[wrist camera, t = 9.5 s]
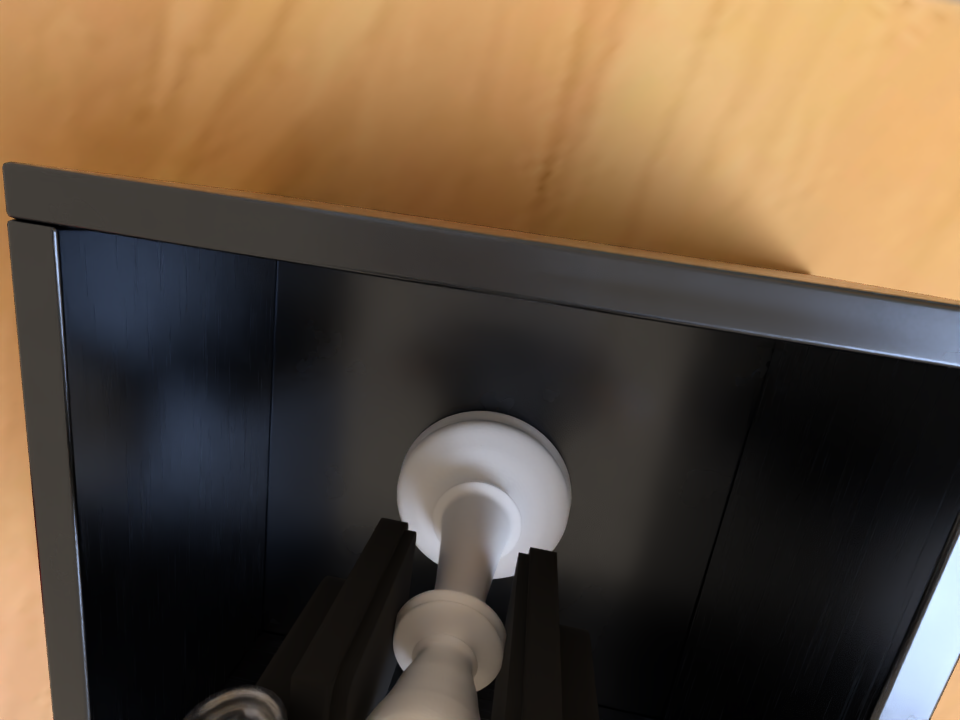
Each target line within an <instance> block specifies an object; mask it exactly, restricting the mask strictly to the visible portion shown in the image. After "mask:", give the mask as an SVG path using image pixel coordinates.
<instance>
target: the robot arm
mask: <svg viewBox="0 0 960 720" xmlns="http://www.w3.org/2000/svg"><path fill="white" fill-rule="evenodd" d="M408 528H409V527H408V522H403V521H398V520H393V519H387V518H381V520H380V521H379V523H378V525H377V526H376V528H375V530H374V532H373V533H372V535H371V537H370V539H369V540H368V542H367V544H366V546H365V547H364V549H363V551H362V553H361V555H360V556H359V558H358V560H357V562H356V563H355V565H354V567H353V569H352V570H351V572H350V574H349V576H348V577H347V579H342V578H338V577H333V576H326V577H324V579H323V580H322V581H321V583H320V584H319V586H318V587H317V589H316V590H315V592H314V594H313V595H312V597H311V598H310V600H309V601H308V603H307V605H306V606H305V608H304V609H303V611H302V613H301V614H300V616H299V617H298V619H297V620H296V622H295V624H294V625H293V627H292V628H291V630H290V631H289V633H288V635H287V636H286V638H285V639H284V641H283V642H282V644H281V646H280V647H279V649H278V650H277V652H276V653H275V655H274V657H273V658H272V660H271V661H270V663H269V664H268V666H267V668H266V669H265V671H264V672H263V674H262V676H261V677H260V679H259V680H258V682H257V683H256V685H240V686H234V687H229V688H226V689H224V690H221V691H219V692H216V693H214V694H212V695H210V696H209V697H207V698H206V699H204V700H203V701H202V702H200V703H199V704H197V705H196V706H195V707H194V708H193V709H192V710H191V711H190V713H189V714H188V715H187V716H186V717H185V718H184V719H183V720H366V719H367V717H368V716H369V715H370V713H371V712H372V711H373V709H374V708H375V707H376V706H377V705H378V704H379V703H380V702H381V701H382V700H383V699H384V698H385V697H386V694H387V691H388V688H389V685H390V682H391V679H392V676H393V673H394V671H395V668H396V665H397V659H396V657H395V654H394V650H393V634H394V630H395V623H396V617H397V614H398V612H399V610H400V609H401V608H402V606H403V605H404V604H405V603H406V602H407V601H408V599H409V592H410V584H411V576H412V568H413V560H414V552H415V544H416V535H417V534H416V532H415V531H410V530H408ZM504 628H505V630H506V634H507V635H506V642H505V647H504V655H503V661H502V666H501V669H500V671H499V673H498V675H497V676H496V680H495V688H494V697H493V706H492V715H491V720H599V713H598V704H597V694H596V685H595V676H594V666H593V657H592V648H591V639H590V634H589V632H588V630H584V629H580V628H575V627H570V626H565V625H561V624H559V596H558V565H557V553H556V552H553V551H548V550H543V549H538V548H533V547H530V549H529V553H528V554H525V553H520V552H519V553H518V558H517V563H516V568H515V574H514V579H513V584H512V590H511V595H510V600H509V606H508V611H507V616H506V622H505V627H504Z"/></svg>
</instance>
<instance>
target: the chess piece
mask: <svg viewBox="0 0 960 720" xmlns="http://www.w3.org/2000/svg"><path fill="white" fill-rule="evenodd" d="M571 499H572V491H571V482H570V477H569V474H568V470H567V468H566V465H565V463H564V461H563V459H562V457H561V455H560V454H559V452H558V451H557V449H556V448H555V447H554V445H553V444H552V443H551V442H550V441H549V440H548V439H547V438H546V437H545V436H544V435H543V434H542V433H541V432H540V431H538V430H537V429H536V428H534V427H533V426H531V425H529V424H528V423H526V422H524V421H522V420H520V419H518V418H515V417H513V416H510V415H506V414H503V413H498V412H491V411H469V412H462V413H458V414H454V415H451V416H448V417H446V418H444V419H441V420H439V421H438V422H436V423H434V424H433V425H431V426H430V427H428V428H427V429H426V430H425V431H424V432H422V433H421V434H420V435H419V436H418V437H417V439H416V440H415V441H414V442H413V444H412V445H411V447H410V448H409V450H408V452H407V454H406V456H405V458H404V461H403V464H402V467H401V472H400V475H399V479H398V484H397V505H398V511H399V515H400V518H401V521H403V522H408V527H409V528H408V530H410V531H415V532H416V534H417V535H416V544H415V545H416V546H417V547H418V548H419V549H420V551H421V552H422V553H424V554H425V555H426V556H427V557H428V558H429V559H431V560H432V561H433V562H435V563H436V564H438V568H437V576H436V583H435V589H434V590H430V591H426V592H423V593H420V594H418V595H416V596H414V597H413V598H411V599H410V600H409V601H407V602H406V603H405V604H404V605H403V606H402V608H401V609H400V610H399V612H398V614H397V617H396V623H395V630H394V634H393V650H394V654H395V657H396V659H397V662H398V663H399V665H400V667H401V668H402V670H403V671H404V672H403V673H402V674H401V676H400V677H399V679H398V680H397V682H396V684H395V685H394V687H393V688H392V690H391V691H390V692H389V693H388V694H387V696H386V697H385V698H384V699H383V700H382V701H381V702H380V703H379V704H378V705H377V706H376V707H375V708H374V709H373V711H372V712H371V713H370V715H369V716H368V717H367V719H366V720H481V719H480V714H479V708H478V697H477V691H479V690H481V689H483V688H484V687H486V686H487V685H489V684H490V683H491V682H492V681H493V680H494V679H495V678H496V676H497V675H498V673H499V671H500V669H501V666H502V661H503V655H504V647H505V642H506V635H507V634H506V630H505V628H504V625H503V623H502V621H501V620H500V618H499V617H498V615H497V614H496V613H495V612H494V611H493V609H492V608H490V607H489V606H488V605H487V604H486V603H485V602H486V598H487V595H488V592H489V589H490V586H491V583H492V580H493V579H498V578H505V577H510V576H514V574H515V568H516V563H517V558H518V553H519V552H520V553H525V554H528V553H529V549H530V547H533V548H538V549H543V550H548V551H553V550H554V549H555V547H556V546H557V544H558V543H559V541H560V539H561V538H562V536H563V533H564V531H565V529H566V525H567V522H568V517H569V512H570V507H571Z"/></svg>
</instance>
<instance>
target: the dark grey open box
mask: <svg viewBox="0 0 960 720" xmlns="http://www.w3.org/2000/svg"><path fill="white" fill-rule="evenodd" d="M2 169H3V180H4V190H5V201H6V212H7V214H8V216H10V217H12V218H14V219H13V220H10V221H8V223H7V227H8V238H9V249H10V260H11V270H12V281H13V292H14V302H15V313H16V324H17V335H18V345H19V356H20V367H21V378H22V388H23V399H24V410H25V420H26V431H27V442H28V453H29V463H30V474H31V485H32V496H33V506H34V517H35V528H36V539H37V549H38V560H39V571H40V581H41V592H42V603H43V614H44V624H45V635H46V646H47V657H48V667H49V678H50V689H51V699H52V710H53V720H183V719H184V718H185V717H186V716H187V715H188V714H189V713H190V711H191V710H192V709H193V708H194V707H195V706H196V705H197V704H199V703H200V702H202V701H203V700H204V699H206V698H207V697H209V696H210V695H212V694H214V693H216V692H219V691H221V690H224V689H226V688H229V687H234V686H240V685H256V683H257V682H258V680H259V679H260V677H261V676H262V674H263V672H264V671H265V669H266V668H267V666H268V664H269V663H270V661H271V660H272V658H273V657H274V655H275V653H276V652H277V650H278V649H279V647H280V646H281V644H282V642H283V641H284V639H285V638H286V636H287V635H288V633H289V631H290V630H291V628H292V627H293V625H294V624H295V622H296V620H297V619H298V617H299V616H300V614H301V613H302V611H303V609H304V608H305V606H306V605H307V603H308V601H309V600H310V598H311V597H312V595H313V594H314V592H315V590H316V589H317V587H318V586H319V584H320V583H321V581H322V580H323V579H324V577H326V576H333V577H338V578H342V579H347V577H348V576H349V574H350V572H351V570H352V569H353V567H354V565H355V563H356V562H357V560H358V558H359V556H360V555H361V553H362V551H363V549H364V547H365V546H366V544H367V542H368V540H369V539H370V537H371V535H372V533H373V532H374V530H375V528H376V526H377V525H378V523H379V521H380V520H381V518H387V519H393V520H398V521H401V518H400V515H399V511H398V505H397V484H398V479H399V475H400V472H401V467H402V464H403V461H404V458H405V456H406V454H407V452H408V450H409V448H410V447H411V445H412V444H413V442H414V441H415V440H416V439H417V437H418V436H419V435H420V434H421V433H422V432H424V431H425V430H426V429H427V428H428V427H430V426H431V425H433V424H434V423H436V422H438V421H439V420H441V419H444V418H446V417H448V416H451V415H454V414H458V413H462V412H469V411H491V412H498V413H503V414H506V415H510V416H513V417H515V418H518V419H520V420H522V421H524V422H526V423H528V424H529V425H531V426H533V427H534V428H536V429H537V430H538V431H540V432H541V433H542V434H543V435H544V436H545V437H546V438H547V439H548V440H549V441H550V442H551V443H552V444H553V445H554V447H555V448H556V449H557V451H558V452H559V454H560V455H561V457H562V459H563V461H564V463H565V465H566V468H567V470H568V474H569V477H570V482H571V491H572V499H571V507H570V512H569V517H568V522H567V525H566V529H565V531H564V533H563V536H562V538H561V539H560V541H559V543H558V544H557V546H556V547H555V549H554V550H553V552H556V553H557V565H558V596H559V624H561V625H565V626H570V627H575V628H580V629H584V630H588V632H589V634H590V639H591V648H592V657H593V666H594V676H595V685H596V694H597V704H598V713H599V720H930V719H931V717H932V715H933V713H934V711H935V709H936V707H937V705H938V702H939V700H940V698H941V696H942V694H943V692H944V690H945V688H946V686H947V683H948V681H949V679H950V677H951V675H952V673H953V671H954V669H955V667H956V664H957V662H958V660H959V658H960V301H958V300H952V299H947V298H941V297H935V296H929V295H924V294H918V293H912V292H907V291H901V290H895V289H889V288H884V287H878V286H872V285H866V284H861V283H855V282H849V281H843V280H838V279H832V278H826V277H821V276H815V275H808V274H801V273H795V272H788V271H781V270H774V269H768V268H761V267H754V266H748V265H741V264H734V263H727V262H721V261H714V260H707V259H701V258H694V257H687V256H681V255H674V254H667V253H660V252H654V251H647V250H640V249H634V248H627V247H620V246H614V245H607V244H600V243H593V242H587V241H580V240H573V239H567V238H560V237H553V236H546V235H540V234H533V233H526V232H520V231H513V230H506V229H500V228H493V227H486V226H479V225H473V224H466V223H459V222H453V221H446V220H439V219H432V218H426V217H419V216H412V215H406V214H399V213H392V212H386V211H379V210H372V209H365V208H359V207H352V206H345V205H339V204H332V203H325V202H318V201H312V200H305V199H298V198H292V197H285V196H278V195H272V194H265V193H257V192H249V191H241V190H233V189H225V188H217V187H209V186H201V185H193V184H185V183H177V182H169V181H161V180H153V179H145V178H137V177H129V176H121V175H113V174H105V173H97V172H89V171H81V170H73V169H65V168H57V167H49V166H41V165H33V164H25V163H17V162H8V163H4V164H3V167H2ZM437 568H438V564H436V563H435V562H433V561H432V560H431V559H429V558H428V557H427V556H426V555H425V554H424V553H422V552H421V551H420V549H419V548H418V547H417V546H416V545H415V552H414V560H413V568H412V576H411V584H410V592H409V599H408V601H409V600H410V599H411V598H413V597H414V596H416V595H418V594H420V593H423V592H426V591H430V590H434V589H435V583H436V576H437ZM513 579H514V576H510V577H505V578H498V579H493V580H492V583H491V586H490V589H489V592H488V595H487V598H486V602H485V603H486V604H487V605H488V606H489V607H490V608H492V609H493V611H494V612H495V613H496V614H497V615H498V617H499V618H500V620H501V621H502V623H503V625H504V627H505V622H506V616H507V611H508V606H509V600H510V595H511V590H512V584H513ZM403 672H404V671H403V670H402V668H401V667H400V665H399V663H398V662H397V665H396V668H395V671H394V673H393V676H392V679H391V682H390V685H389V688H388V691H387V694H388V693H389V692H390V691H391V690H392V688H393V687H394V685H395V684H396V682H397V680H398V679H399V677H400V676H401V674H402V673H403ZM495 680H496V678H495V679H494V680H493V681H492V682H491V683H490V684H489V685H487V686H486V687H484V688H483V689H481V690H479V691H477V697H478V708H479V714H480V719H481V720H491V715H492V706H493V697H494V688H495ZM387 694H386V696H387Z"/></svg>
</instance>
